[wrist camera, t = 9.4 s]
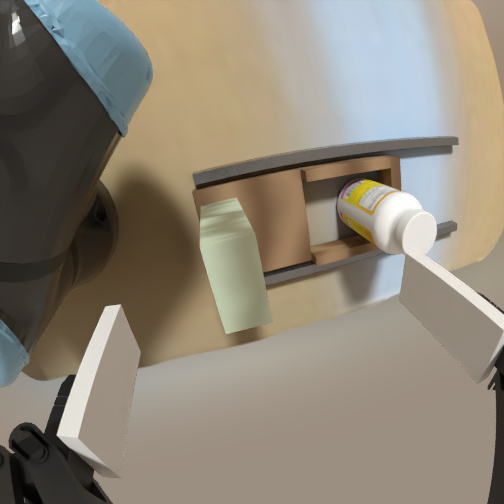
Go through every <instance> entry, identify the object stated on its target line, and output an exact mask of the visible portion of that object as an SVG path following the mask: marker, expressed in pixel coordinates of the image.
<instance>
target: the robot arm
mask: <svg viewBox="0 0 504 504" xmlns="http://www.w3.org/2000/svg"><path fill="white" fill-rule="evenodd" d="M152 77H153V69H152V63H151V61H150V58H149V56H148V53H147V51H146V50H145V48H144V47H143V45H142V44H141V43H140V41H139V40H138V39H137V37H136V36H135V35H134V34H133V33H132V32H131V30H130V29H129V28H128V27H127V26H126V25H125V24H124V23H123V22H122V21H121V20H120V19H119V18H118V17H116V16H115V15H114V14H113V13H112V12H111V11H109V10H108V9H107V8H106V7H104V6H103V5H102V4H101V3H99V2H98V1H96V0H0V387H6V386H8V385H10V384H12V383H13V382H14V381H15V379H16V377H17V376H18V374H19V373H20V371H21V370H22V368H23V367H24V366H27V364H28V363H29V360H30V358H29V356H30V354H31V352H32V351H33V349H34V347H35V345H36V344H37V342H38V340H39V338H40V337H41V335H42V333H43V332H44V330H45V328H46V327H47V325H48V323H49V322H50V320H51V318H52V317H53V315H54V314H55V312H56V311H57V309H58V307H59V306H60V304H61V303H62V301H63V300H64V298H65V297H66V295H67V294H68V292H69V291H70V290H71V289H73V288H75V287H78V286H80V285H82V284H84V283H86V282H88V281H90V280H91V279H93V278H94V277H95V276H96V275H98V274H99V273H100V272H101V270H102V269H103V268H104V266H105V265H106V263H107V262H108V260H109V259H110V257H111V255H112V253H113V251H114V249H115V245H116V242H117V236H118V220H117V213H116V209H115V206H114V203H113V200H112V198H111V196H110V194H109V192H108V190H107V189H106V187H105V186H104V184H103V183H102V182H101V181H100V180H99V179H100V177H101V175H102V173H103V171H104V169H105V167H106V165H107V163H108V161H109V159H110V157H111V156H112V154H113V152H114V150H115V148H116V146H117V145H118V143H119V141H120V139H121V138H122V137H125V136H126V134H127V132H128V124H129V122H130V120H131V118H132V117H133V115H134V113H135V111H136V110H137V108H138V106H139V104H140V103H141V101H142V99H143V98H144V96H145V94H146V93H147V91H148V89H149V87H150V85H151V82H152ZM399 301H400V302H401V303H402V304H403V305H404V306H405V307H406V308H407V309H408V310H409V311H410V312H411V313H412V314H413V315H414V316H415V317H416V318H417V319H418V320H419V321H420V322H421V323H422V324H423V326H424V327H425V328H426V329H427V330H428V331H429V332H430V333H431V334H432V335H433V336H434V337H435V338H436V339H437V340H438V341H439V342H440V343H441V344H442V346H443V347H445V349H446V350H447V351H448V352H449V353H450V354H451V355H452V356H453V357H454V359H455V360H456V361H457V362H458V363H459V364H460V365H461V366H462V368H463V369H464V370H465V371H466V372H467V373H468V374H469V375H470V377H471V378H472V379H473V380H474V381H475V383H476V384H478V383H480V382H481V381H483V380H484V379H486V378H487V377H488V376H489V374H490V372H491V371H492V369H493V367H494V366H495V367H496V368H497V371H496V373H495V375H494V377H493V378H492V380H491V382H490V383H489V385H488V389H490V388H491V386H492V385H493V383H494V382H495V386H494V387H493V390H496V442H495V456H494V467H493V474H492V481H491V487H490V493H489V498H488V503H487V504H504V311H502V310H501V309H500V308H499V307H496V305H495V304H494V303H493V302H490V300H489V299H488V298H486V297H485V296H484V295H482V294H480V293H478V292H476V291H474V290H472V289H471V288H470V287H468V286H467V285H466V284H464V283H463V282H462V281H460V280H459V279H458V278H456V277H455V276H453V275H452V274H451V273H449V272H448V271H447V270H445V269H444V268H442V267H441V266H440V265H438V264H437V263H435V262H434V261H432V260H431V259H429V258H428V257H427V256H425V255H424V254H422V253H421V252H419V251H418V250H416V251H412V252H407V253H406V255H405V264H404V271H403V278H402V284H401V291H400V297H399ZM140 355H141V351H140V349H139V347H138V344H137V342H136V340H135V337H134V335H133V333H132V330H131V328H130V326H129V323H128V321H127V318H126V316H125V313H124V311H123V308H122V306H121V304H119V305H112V306H106V307H105V309H104V311H103V313H102V315H101V317H100V320H99V322H98V324H97V326H96V329H95V331H94V333H93V336H92V338H91V340H90V343H89V345H88V347H87V350H86V352H85V355H84V357H83V360H82V362H81V365H80V367H79V370H78V373H77V375H69V376H68V377H67V378H66V380H65V381H64V382H63V383H62V384H61V387H60V390H59V392H58V395H57V396H58V397H57V398H56V400H55V403H54V406H53V408H52V411H51V414H50V417H49V420H48V423H47V426H46V429H45V432H44V434H43V433H42V432H41V430H40V429H39V428H38V427H37V426H36V425H34V424H32V423H26V422H25V423H22V424H19V425H18V426H17V427H16V428H14V430H13V431H12V433H11V434H10V438H9V448H10V449H12V451H14V452H15V453H10V452H9V451H8V450H7V449H6V448H5V447H3V446H1V445H0V504H113V503H112V502H111V501H110V499H109V498H108V496H107V495H106V494H105V492H104V491H103V490H102V488H101V487H100V485H99V484H98V482H97V481H96V480H95V479H94V478H93V474H94V470H95V471H96V472H97V473H99V474H100V475H101V476H103V477H110V478H121V479H122V474H123V462H124V454H125V446H126V437H127V430H128V423H129V416H130V410H131V403H132V397H133V391H134V386H135V380H136V375H137V369H138V365H139V360H140ZM24 498H25V502H24Z"/></svg>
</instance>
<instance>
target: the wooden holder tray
mask: <svg viewBox="0 0 504 504" xmlns="http://www.w3.org/2000/svg"><path fill="white" fill-rule="evenodd" d="M375 170H378V176H379V183H381V184H383V185H386V186H389V187H392V188H394V189H397V190H400V191H401V172H400V157H396V156H392V155H387V154H385V155H377V156H369V157H361V158H354V159H347V160H340V161H334V162H327V163H321V164H315V165H309V166H304V167H298V168H293V169H287V170H282V171H277V172H272V173H267V174H262V175H257V176H252V177H248V178H243V179H238V180H234V181H230V182H225V183H221V184H217V185H212V186H208V187H204V188H200V189H196V190H193V192H192V193H193V197H194V201H195V205H196V209H197V212H198V216H199V220H200V250H201V254H202V257H203V261H204V264H205V268H206V271H207V274H208V278H209V281H210V284H211V288H212V291H213V294H214V298H215V301H216V304H217V307H218V310H219V314H220V317H221V320H222V323H223V326H224V329H225V332H226V334H228V333H233V332H237V331H241V330H245V329H249V328H253V327H257V326H261V325H265V324H269V323H273V321H272V316H271V311H270V306H269V301H268V296H267V291H266V285H265V280H264V275H263V272H267V271H271V270H275V269H279V268H283V267H287V266H291V265H294V264H298V263H302V262H306V261H310V260H312V261H313V262H314V263H315V265H316V266H320V265H324V264H327V263H331V262H335V261H338V260H342V259H346V258H349V257H353V256H356V255H360V254H364V253H367V252H371V251H374V250H378V249H379V248H378V247H377V246H375V245H374V244H373V243H371V242H370V241H369V240H367V239H366V238H364V237H363V236H362V235H356V236H352V237H348V238H344V239H340V240H336V241H332V242H328V243H324V244H320V245H316V246H312V247H310V239H309V231H308V222H307V215H306V207H305V199H304V192H303V185H302V180H304V181H306V182H311V181H316V180H321V179H327V178H332V177H338V176H344V175H350V174H356V173H362V172H368V171H375Z"/></svg>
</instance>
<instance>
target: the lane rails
mask: <svg viewBox="0 0 504 504" xmlns="http://www.w3.org/2000/svg"><path fill="white" fill-rule="evenodd" d="M446 145H459V144H458V137H454V136H438V137H416V138H401V139H388V140H377V141H367V142H358V143H349V144H341V145H333V146H326V147H319V148H312V149H306V150H300V151H294V152H288V153H282V154H276V155H271V156H266V157H261V158H255V159H250V160H246V161H241V162H236V163H232V164H227V165H223V166H218V167H214V168H210V169H206V170H201V171H197V172H193V178H194V182H195V185H198V184H202V183H206V182H210V181H214V180H218V179H223V178H227V177H232V176H236V175H241V174H245V173H250V172H255V171H260V170H264V169H269V168H275V167H280V166H285V165H291V164H296V163H302V162H308V161H314V160H320V159H326V158H333V157H339V156H346V155H354V154H361V153H369V152H378V151H386V150H396V149H406V148H418V147H431V146H446ZM456 230H457V223H455V222H453V221H448V222H445V223H441V224H438V225H437V235H436V237H438V236H441V235H444V234H447V233H450V232H453V231H456ZM383 253H386V252H384V251H382V250H381V249H378V250H374V251H371V252H367V253H364V254H360V255H356V256H353V257H349V258H346V259H342V260H338V261H335V262H331V263H327V264H324V265H320V266H316V265H315V263H314V262H313V261H312V260H310V261H306V262H302V263H298V264H294V265H291V266H287V267H283V268H279V269H275V270H271V271H267V272H263V275H264V280H265V285H270V284H274V283H278V282H281V281H285V280H289V279H293V278H297V277H300V276H304V275H308V274H312V273H315V272H319V271H323V270H326V269H330V268H334V267H337V266H341V265H344V264H348V263H351V262H355V261H358V260H362V259H365V258H369V257H372V256H376V255H379V254H383Z"/></svg>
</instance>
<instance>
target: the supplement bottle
mask: <svg viewBox="0 0 504 504" xmlns="http://www.w3.org/2000/svg"><path fill="white" fill-rule="evenodd" d="M337 209H338V213H339V216H340V218H341V220H342V221H343V222H344V223H345V224H346V225H347V226H349V227H350V228H352V229H353V230H354V231H356V232H357V233H359V234H360V235H362V236H363V237H364V238H366V239H367V240H369V241H370V242H371V243H373V244H374V245H375V246H377V247H378V248H379V249H381V250H382V251H384V252H386V253H388V254H393V255H396V254H401V253H403V254H404V255H406V253H407V252H412V251H416V250H418V251H419V252H421V253H422V254H424V255H425V254H426V253H427V252H428V251H429V250H430V249H431V247H432V246H433V244H434V241H435V239H436V235H437V225H436V221H435V219H434V217H433V216H432V215H431V214H430V213H428V212H426V211H424V210H423V209H422V207H421V205H420V203H419V202H418V200H417V199H416V198H415V197H413V196H412V195H410V194H408V193H405V192H403V191H400V190H397V189H394V188H392V187H389V186H386V185H383V184H381V183H378V182H375V181H372V180H369V179H365V178H359V179H354V180H352V181H350V182H349V183H347V184H346V185H345V186H344V187H343V189H342V190H341V192H340V194H339V197H338V202H337Z"/></svg>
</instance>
